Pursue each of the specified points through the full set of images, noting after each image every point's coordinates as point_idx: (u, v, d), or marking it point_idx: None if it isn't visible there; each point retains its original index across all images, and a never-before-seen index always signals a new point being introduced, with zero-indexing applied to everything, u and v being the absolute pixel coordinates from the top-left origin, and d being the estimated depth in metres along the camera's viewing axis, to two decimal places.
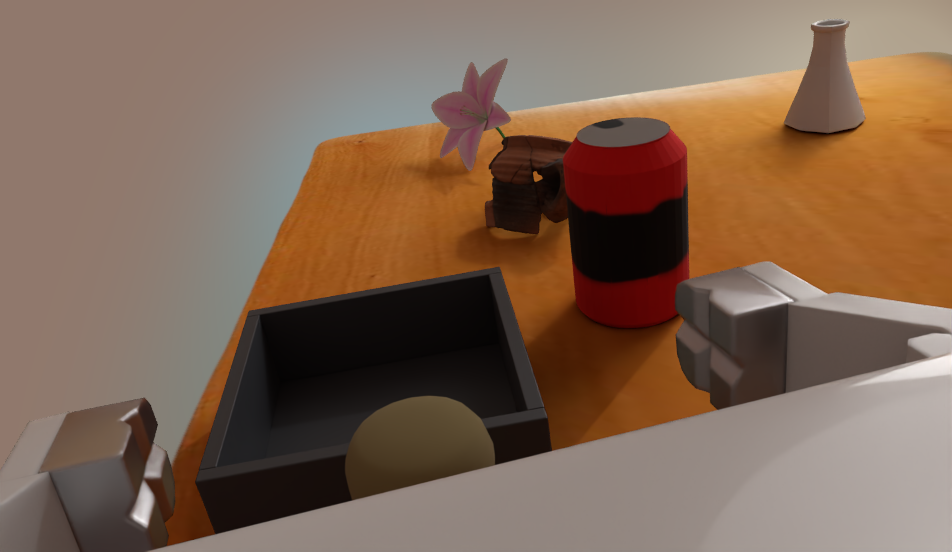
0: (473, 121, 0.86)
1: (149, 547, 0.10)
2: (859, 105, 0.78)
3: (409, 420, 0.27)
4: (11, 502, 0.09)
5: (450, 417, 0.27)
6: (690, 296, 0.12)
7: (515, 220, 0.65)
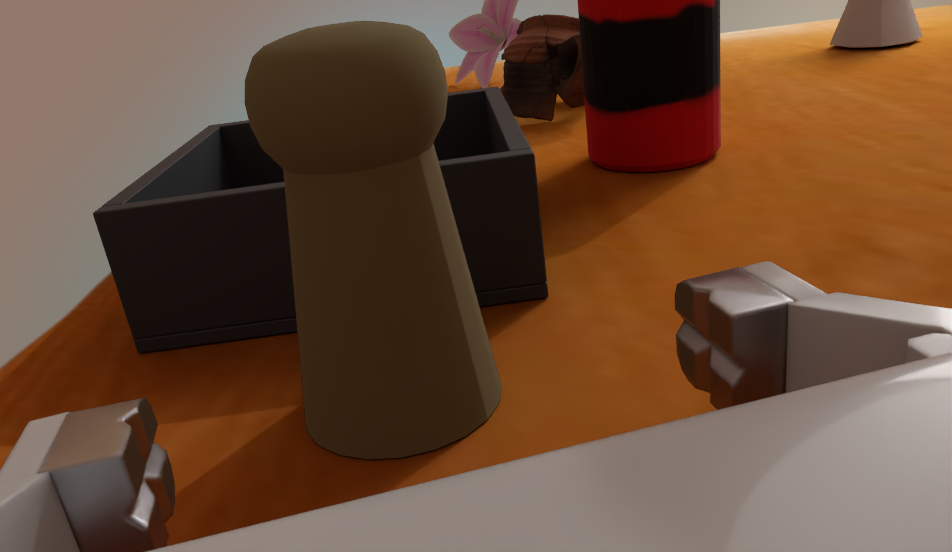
0: (492, 44, 0.80)
1: (149, 547, 0.10)
2: (915, 21, 0.70)
3: (332, 25, 0.20)
4: (10, 502, 0.09)
5: (387, 23, 0.20)
6: (690, 296, 0.12)
7: (527, 104, 0.59)
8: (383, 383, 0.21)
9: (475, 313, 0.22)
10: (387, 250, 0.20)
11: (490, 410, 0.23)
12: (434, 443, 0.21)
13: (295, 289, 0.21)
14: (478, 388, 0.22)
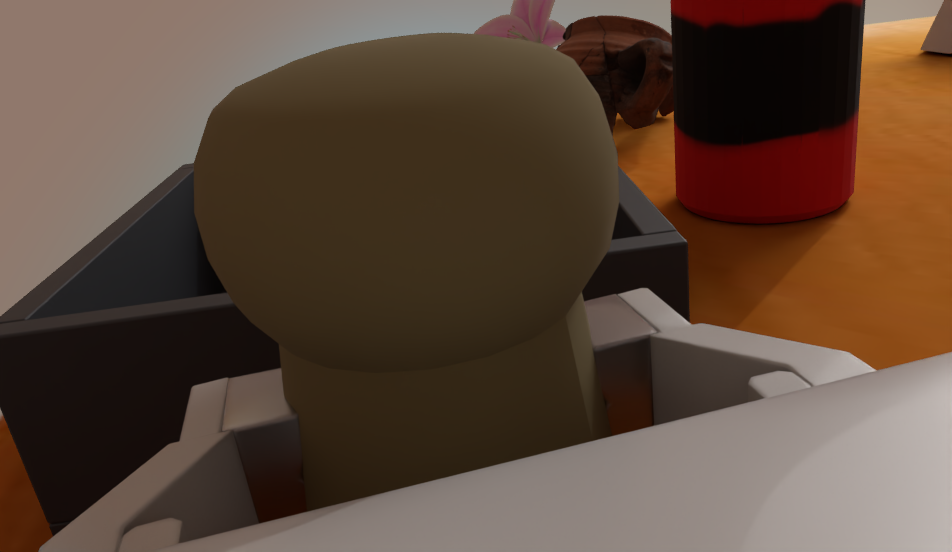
0: None
1: None
2: None
3: (382, 43, 0.09)
4: (206, 457, 0.09)
5: (498, 37, 0.09)
6: None
7: None
8: None
9: None
10: None
11: None
12: None
13: None
14: None
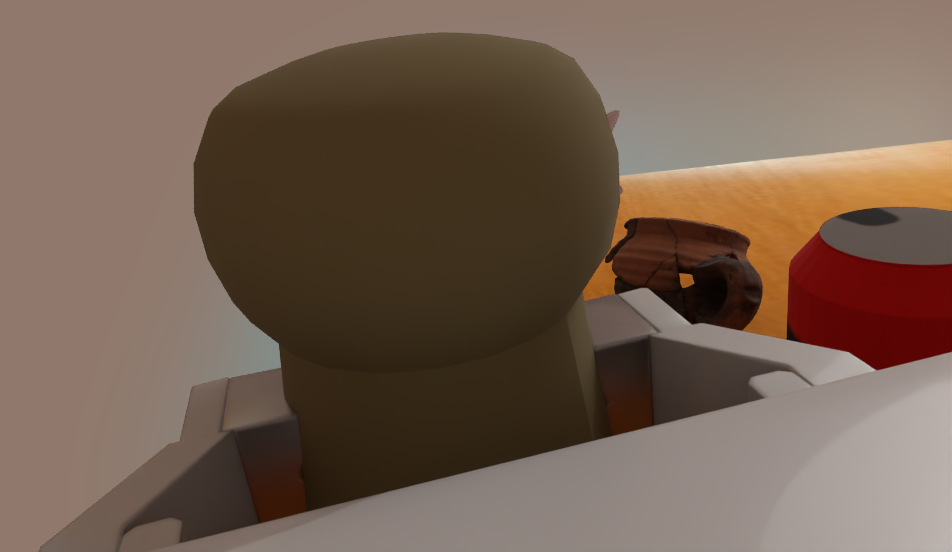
0: None
1: None
2: None
3: (382, 42, 0.09)
4: (206, 457, 0.09)
5: (498, 37, 0.09)
6: None
7: None
8: None
9: None
10: None
11: None
12: None
13: None
14: None
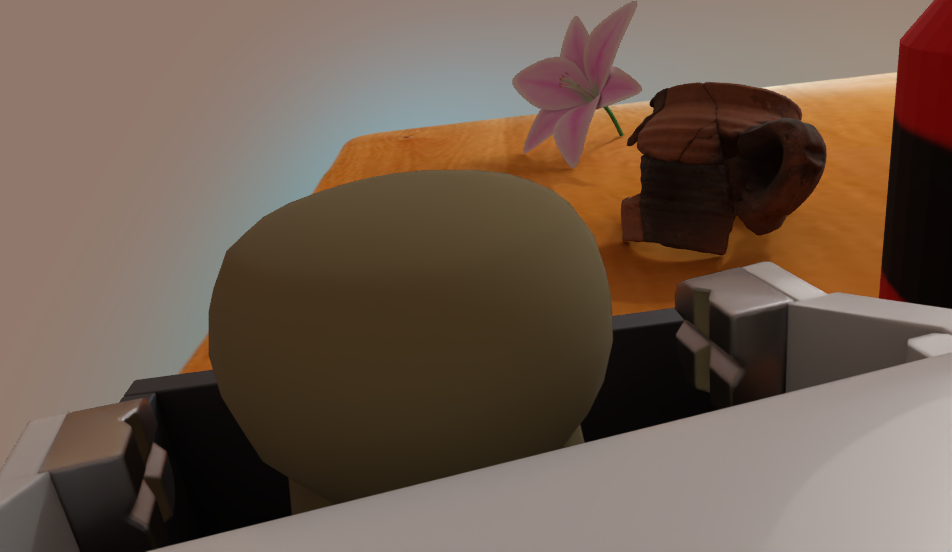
0: (576, 100, 0.58)
1: (149, 547, 0.10)
2: None
3: (387, 188, 0.10)
4: (11, 502, 0.09)
5: (498, 184, 0.10)
6: (690, 296, 0.12)
7: (684, 228, 0.36)
8: None
9: None
10: None
11: None
12: None
13: None
14: None
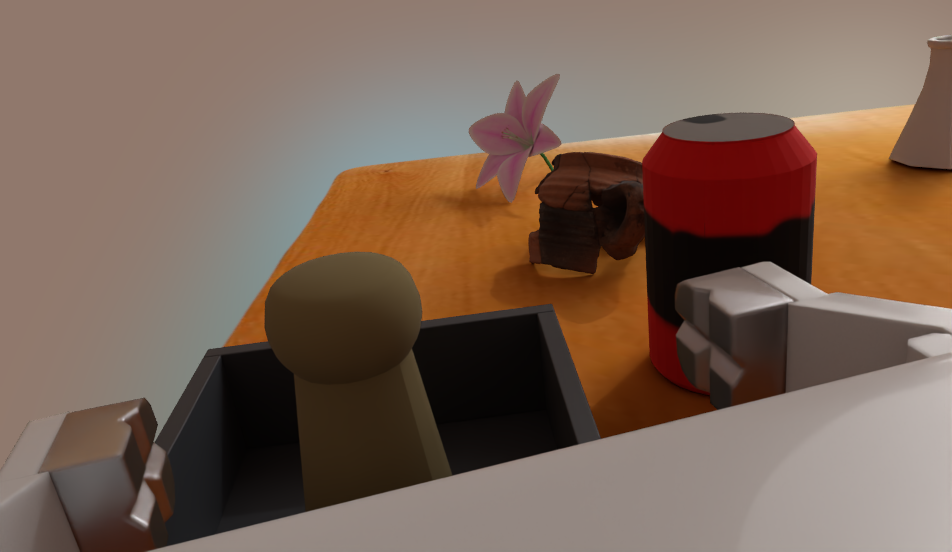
0: (516, 147, 0.74)
1: (149, 547, 0.10)
2: None
3: (332, 263, 0.26)
4: (10, 503, 0.09)
5: (374, 262, 0.26)
6: (690, 296, 0.12)
7: (566, 255, 0.52)
8: None
9: (444, 473, 0.28)
10: (374, 439, 0.26)
11: None
12: None
13: (302, 458, 0.27)
14: None
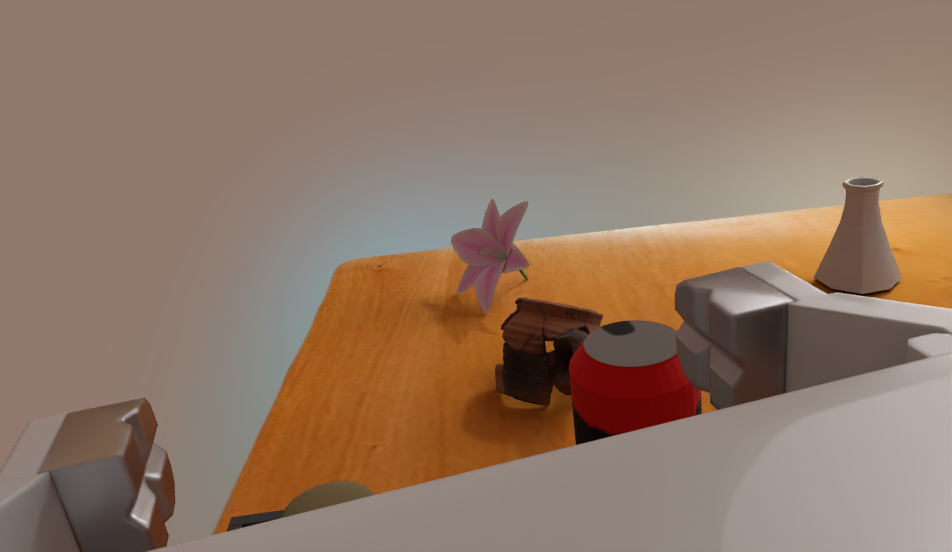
0: (492, 259, 0.84)
1: (149, 547, 0.10)
2: (894, 264, 0.74)
3: (324, 500, 0.36)
4: (10, 502, 0.09)
5: (355, 499, 0.36)
6: (690, 296, 0.12)
7: (525, 390, 0.62)
8: None
9: None
10: None
11: None
12: None
13: None
14: None
